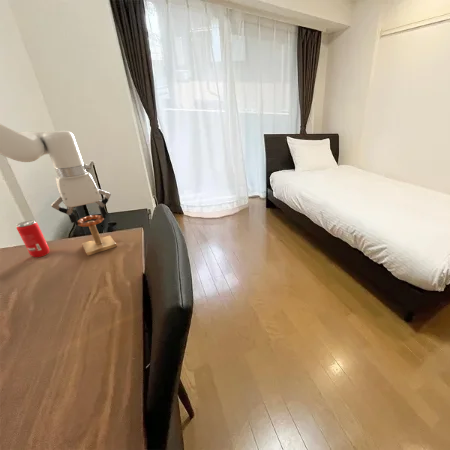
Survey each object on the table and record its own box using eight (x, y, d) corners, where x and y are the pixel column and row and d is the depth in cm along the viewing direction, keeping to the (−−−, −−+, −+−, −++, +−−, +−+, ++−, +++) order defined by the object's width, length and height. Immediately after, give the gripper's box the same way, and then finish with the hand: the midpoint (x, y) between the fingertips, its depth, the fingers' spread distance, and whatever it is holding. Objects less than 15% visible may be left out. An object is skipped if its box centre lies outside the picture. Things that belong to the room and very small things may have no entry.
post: (87, 255, 94) (77, 229, 90) (82, 246, 100) (72, 221, 96) (117, 246, 100) (108, 221, 96) (110, 237, 106) (102, 214, 101)
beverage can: (27, 257, 94) (11, 225, 88) (43, 249, 98) (28, 219, 93) (38, 259, 92) (23, 227, 87) (54, 251, 97) (40, 221, 92)
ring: (80, 229, 91) (78, 225, 90) (76, 222, 96) (74, 218, 95) (106, 222, 96) (105, 219, 95) (101, 216, 101) (100, 212, 100)
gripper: (100, 164, 95) (115, 210, 103) (35, 174, 85) (57, 224, 92) (105, 168, 91) (121, 216, 99) (37, 179, 80) (60, 232, 88)
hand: (90, 220), depth 95 cm, fingers closed on ring, 7 cm apart
